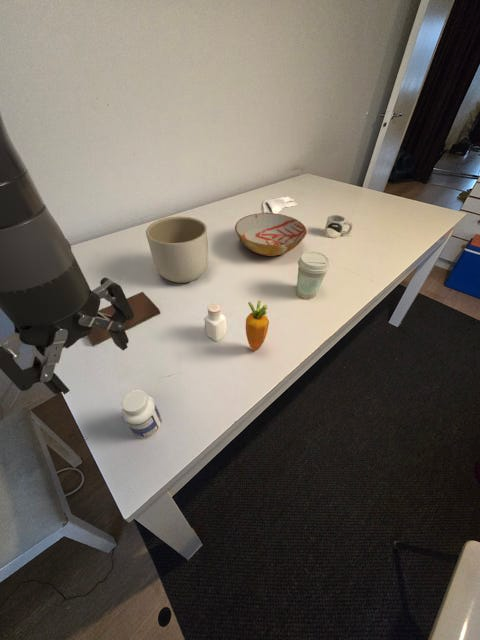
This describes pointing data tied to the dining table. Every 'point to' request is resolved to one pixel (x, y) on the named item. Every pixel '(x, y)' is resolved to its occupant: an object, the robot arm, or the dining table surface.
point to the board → (142, 312)
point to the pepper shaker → (215, 322)
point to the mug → (336, 226)
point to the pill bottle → (141, 414)
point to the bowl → (270, 233)
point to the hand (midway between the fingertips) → (94, 366)
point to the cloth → (277, 204)
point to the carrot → (256, 326)
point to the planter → (179, 248)
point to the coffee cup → (311, 273)
